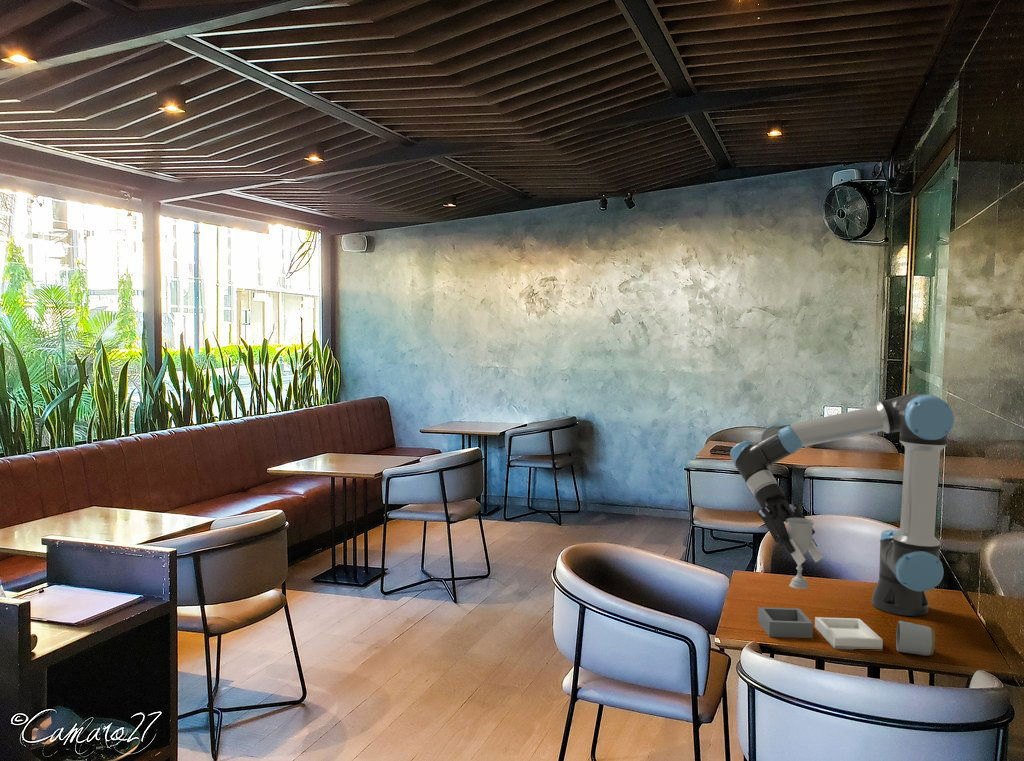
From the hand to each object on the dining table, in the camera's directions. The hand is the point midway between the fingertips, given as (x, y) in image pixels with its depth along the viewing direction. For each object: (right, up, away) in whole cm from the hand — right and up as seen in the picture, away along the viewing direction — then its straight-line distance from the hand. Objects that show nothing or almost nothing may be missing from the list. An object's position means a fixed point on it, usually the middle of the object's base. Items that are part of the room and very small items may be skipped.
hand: (810, 561), depth 203 cm
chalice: (-2, -8, +4) cm, 9 cm away
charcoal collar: (-5, -20, +6) cm, 21 cm away
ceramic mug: (+23, -21, -8) cm, 32 cm away
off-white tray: (+10, -21, 0) cm, 23 cm away
